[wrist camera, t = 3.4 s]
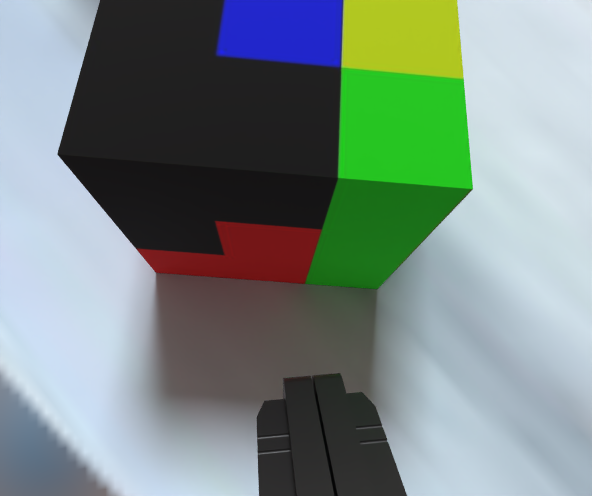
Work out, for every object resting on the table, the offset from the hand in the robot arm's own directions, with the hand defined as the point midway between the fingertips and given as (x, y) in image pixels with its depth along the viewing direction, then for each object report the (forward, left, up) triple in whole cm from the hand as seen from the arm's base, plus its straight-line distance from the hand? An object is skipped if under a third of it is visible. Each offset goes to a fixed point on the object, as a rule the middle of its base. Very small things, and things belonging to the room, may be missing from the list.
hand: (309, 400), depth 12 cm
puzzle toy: (0, -10, -7) cm, 13 cm away
